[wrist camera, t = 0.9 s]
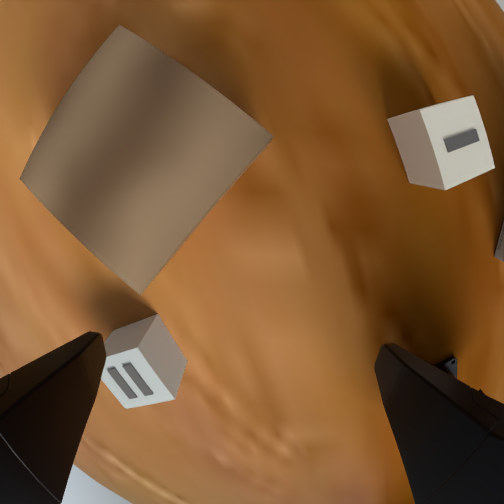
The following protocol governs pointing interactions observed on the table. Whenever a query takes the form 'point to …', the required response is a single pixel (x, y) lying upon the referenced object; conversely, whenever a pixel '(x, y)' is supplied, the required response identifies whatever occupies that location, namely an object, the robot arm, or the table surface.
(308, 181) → the table surface
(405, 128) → the offwhite numeral block
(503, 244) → the coffee box
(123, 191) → the plain walnut block
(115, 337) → the grey numeral block
